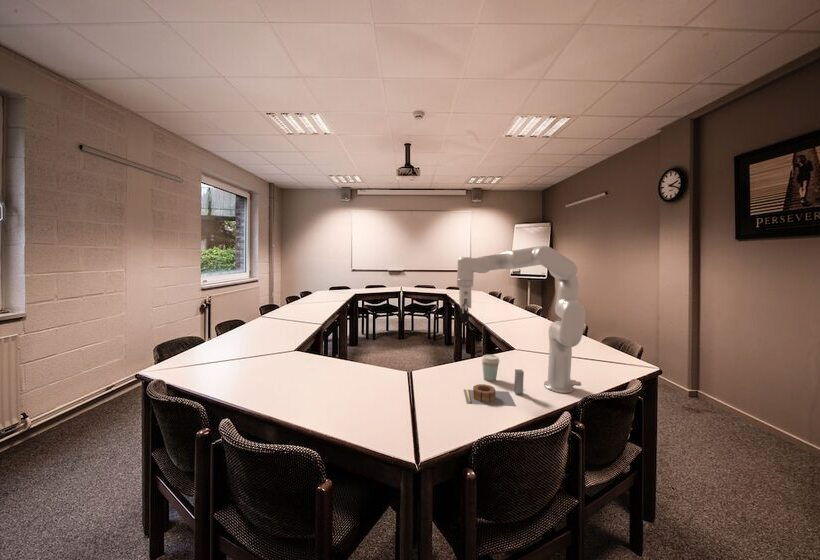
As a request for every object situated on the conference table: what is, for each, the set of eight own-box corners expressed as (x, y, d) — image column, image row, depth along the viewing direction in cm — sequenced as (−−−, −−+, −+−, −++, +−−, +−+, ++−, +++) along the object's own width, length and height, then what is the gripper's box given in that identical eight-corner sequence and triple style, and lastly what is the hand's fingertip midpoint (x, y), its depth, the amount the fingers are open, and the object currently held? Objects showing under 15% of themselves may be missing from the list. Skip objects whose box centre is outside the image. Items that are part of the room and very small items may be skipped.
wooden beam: (520, 393, 144) (521, 369, 143) (522, 396, 141) (523, 372, 140) (514, 393, 144) (515, 369, 143) (515, 396, 141) (516, 371, 140)
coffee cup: (499, 384, 153) (500, 360, 152) (481, 383, 155) (481, 358, 154) (498, 378, 161) (498, 354, 161) (480, 376, 163) (481, 353, 162)
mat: (508, 392, 144) (508, 389, 144) (516, 407, 130) (516, 404, 130) (463, 390, 146) (463, 387, 146) (466, 405, 132) (466, 401, 132)
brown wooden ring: (492, 393, 142) (493, 384, 141) (496, 402, 133) (496, 393, 133) (472, 392, 142) (472, 383, 142) (474, 401, 134) (474, 392, 133)
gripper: (475, 285, 141) (474, 323, 143) (471, 282, 159) (470, 316, 160) (458, 285, 142) (457, 323, 143) (455, 281, 159) (454, 315, 161)
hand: (464, 319), depth 152 cm, fingers open, 9 cm apart
